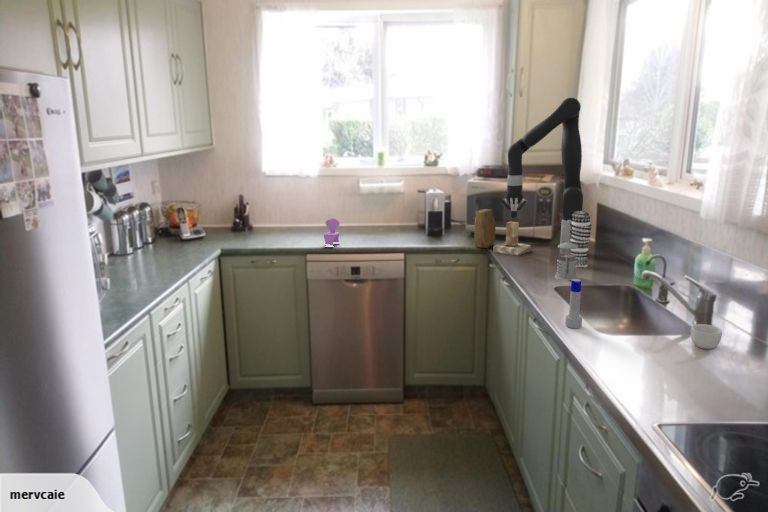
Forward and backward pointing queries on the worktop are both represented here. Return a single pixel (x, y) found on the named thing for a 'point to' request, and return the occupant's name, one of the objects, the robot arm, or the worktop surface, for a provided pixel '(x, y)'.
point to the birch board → (511, 249)
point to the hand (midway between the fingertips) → (514, 218)
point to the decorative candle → (580, 237)
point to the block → (484, 228)
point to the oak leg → (512, 234)
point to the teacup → (706, 336)
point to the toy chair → (332, 232)
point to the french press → (567, 261)
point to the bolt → (574, 305)
